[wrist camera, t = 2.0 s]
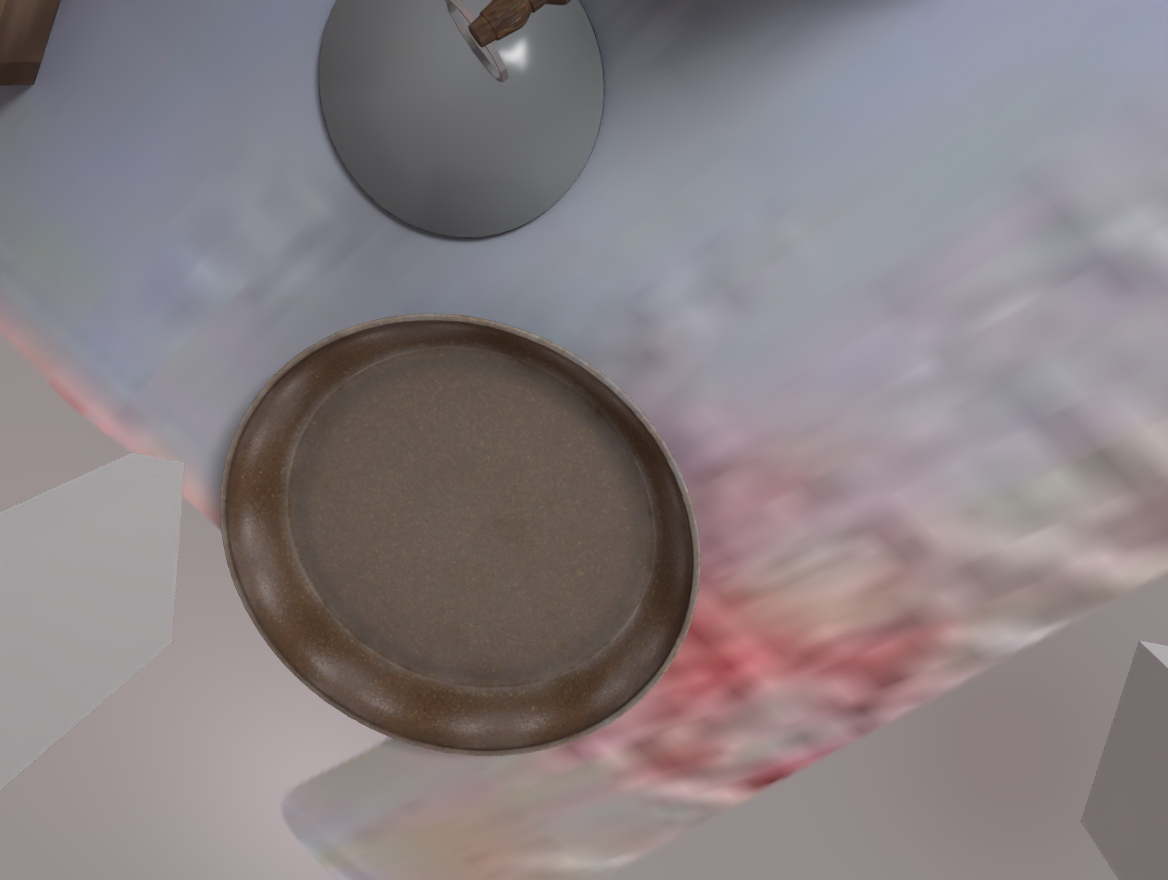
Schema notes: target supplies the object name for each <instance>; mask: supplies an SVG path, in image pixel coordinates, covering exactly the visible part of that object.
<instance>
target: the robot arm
mask: <svg viewBox="0 0 1168 880" xmlns="http://www.w3.org/2000/svg"><path fill="white" fill-rule="evenodd" d="M183 476H184V462H179V461H173V460H168V459H162V458H157V457H152V456H146V455H141V454H136V453H130V454H128V455H126V456H124V457H121V458H119V459H117V460H114V461H112V462H110V463H108V464H106V465H103V466H101V467H99V468H97V469H94V470H92V471H90V472H88V473H86V474H83V475H81V476H79V477H77V478H74V479H72V480H70V481H68V482H66V483H63V484H61V485H59V486H57V487H54V488H52V489H50V490H48V491H45V492H44V493H41V494H39V495H37V496H34V497H32V498H30V499H28V500H25V501H24V502H21V503H19V504H16V505H14V506H12V507H10V508H8V509H5V510H3V511H1V512H0V790H1V789H2V788H4V787H5V786H6V785H7V784H8V783H9V782H10V781H12V780H13V779H14V778H15V777H16V776H17V775H19V774H20V773H21V772H22V771H23V770H24V769H25V768H27V767H28V766H29V765H30V764H31V763H33V762H34V761H35V760H36V759H37V758H38V757H39V756H41V755H42V754H43V753H44V752H45V751H47V750H48V749H49V748H50V747H51V746H52V745H54V744H55V743H56V742H57V741H58V740H59V739H60V738H61V737H63V736H64V735H65V734H66V733H68V732H69V731H70V730H71V729H72V728H73V727H75V726H76V725H77V724H78V723H79V722H80V721H82V720H83V719H84V718H85V717H86V716H87V715H88V714H90V713H91V712H92V711H93V710H94V709H95V708H97V707H98V706H99V705H100V704H101V703H102V702H104V701H105V700H106V699H107V698H108V697H109V696H111V695H112V694H113V693H114V692H115V691H116V690H118V689H119V688H120V687H121V686H122V685H123V684H124V683H126V682H127V681H128V680H129V679H130V678H132V677H133V676H134V675H135V674H136V673H137V672H138V671H140V670H141V669H142V668H143V667H144V666H145V665H147V664H148V663H149V662H150V661H151V660H153V659H154V658H155V657H156V656H157V655H158V654H160V653H161V652H162V651H163V650H164V649H165V648H167V647H168V646H169V645H170V644H171V643H172V637H173V622H174V608H175V593H176V578H177V563H178V549H179V535H180V519H181V506H182V491H183ZM1081 822H1082V824H1083V826H1084V827H1085V829H1086V830H1087V832H1088V833H1089V835H1090V836H1091V838H1092V840H1093V841H1094V842H1095V844H1096V846H1097V847H1098V849H1099V850H1100V852H1101V853H1102V855H1103V856H1104V858H1105V860H1106V861H1107V862H1108V864H1109V866H1110V867H1111V869H1112V870H1113V872H1114V873H1115V875H1116V876H1117V878H1118V879H1119V880H1168V646H1165V645H1159V644H1154V643H1149V642H1143V641H1139V642H1138V645H1137V648H1136V651H1135V655H1134V658H1133V661H1132V664H1131V667H1130V670H1129V673H1128V676H1127V679H1126V683H1125V686H1124V689H1123V692H1122V695H1121V698H1120V701H1119V705H1118V707H1117V710H1116V713H1115V717H1114V720H1113V723H1112V726H1111V729H1110V732H1109V735H1108V738H1107V741H1106V744H1105V748H1104V751H1103V754H1102V757H1101V760H1100V763H1099V766H1098V769H1097V772H1096V776H1095V779H1094V782H1093V785H1092V788H1091V791H1090V794H1089V797H1088V800H1087V803H1086V807H1085V810H1084V813H1083V816H1082V819H1081Z"/></svg>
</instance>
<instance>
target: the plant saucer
mask: <svg viewBox="0 0 1168 880" xmlns="http://www.w3.org/2000/svg"><path fill="white" fill-rule="evenodd" d="M220 518H221V532H222V538H223V544H224V550H225V555H226V559H227V563H228V566H229V569H230V573H231V576H232V579H233V582H234V584H235V587H236V590H237V592H238V594H239V596H240V598H241V600H242V602H243V604H244V607H245V609H246V611H247V612H248V614H249V616H250V617H251V619H252V621H253V623H254V625H255V626H256V628H257V630H258V631H259V633H260V634H261V636H262V637H263V638H264V640H265V641H266V642H267V644H268V645H269V647H270V648H271V649H272V651H273V652H274V653H275V654H276V655H277V657H278V658H279V659H280V660H281V661H282V663H283V664H284V665H285V666H286V667H287V668H288V669H289V670H290V671H291V672H292V673H293V674H294V675H295V676H296V677H297V678H298V679H299V680H300V681H301V682H302V683H304V684H305V685H306V686H307V687H308V688H309V689H310V690H312V691H313V692H314V693H316V694H317V695H318V696H319V697H321V698H322V699H323V700H324V701H325V702H327V703H328V704H330V705H332V706H333V707H335V708H336V709H338V710H339V711H341V712H343V713H344V714H346V715H347V716H348V717H350V718H352V719H354V720H356V721H358V722H359V723H361V724H363V725H365V726H367V727H369V728H371V729H373V730H376V731H378V732H380V733H382V734H384V735H387V736H389V737H392V738H395V739H397V740H400V741H403V742H406V743H409V744H412V745H416V746H421V747H424V748H427V749H432V750H436V751H442V752H447V753H455V754H462V755H475V756H503V755H512V754H524V753H530V752H535V751H540V750H545V749H550V748H553V747H556V746H559V745H562V744H565V743H569V742H572V741H575V740H577V739H580V738H582V737H584V736H587V735H589V734H591V733H593V732H595V731H597V730H599V729H601V728H603V727H604V726H606V725H608V724H610V723H611V722H613V721H615V720H616V719H617V718H619V717H620V716H622V715H623V714H625V713H626V712H627V711H628V710H630V709H631V708H632V707H633V706H635V705H636V704H637V703H638V702H639V701H640V700H641V699H642V698H643V697H644V696H645V695H646V694H647V693H648V692H649V691H650V690H651V689H652V688H653V687H654V686H655V685H656V684H657V682H658V681H659V680H660V679H661V678H662V676H663V675H664V673H665V672H666V671H667V669H668V668H669V666H670V665H671V663H672V662H673V660H674V658H675V656H676V654H677V653H678V651H679V649H680V647H681V645H682V643H683V641H684V639H685V637H686V634H687V632H688V629H689V627H690V624H691V621H692V617H693V614H694V610H695V606H696V602H697V597H698V591H699V584H700V563H701V562H700V543H699V535H698V528H697V523H696V518H695V513H694V509H693V506H692V502H691V499H690V496H689V493H688V490H687V487H686V485H685V482H684V480H683V478H682V475H681V473H680V470H679V468H678V466H677V464H676V462H675V460H674V458H673V456H672V455H671V453H670V451H669V449H668V447H667V446H666V444H665V443H664V441H663V440H662V438H661V437H660V435H659V434H658V432H657V430H656V429H655V428H654V426H653V425H652V424H651V422H650V421H649V420H648V418H647V417H646V416H645V415H644V413H643V412H642V411H641V410H640V409H639V408H638V406H637V405H636V404H635V403H634V402H633V401H632V400H631V399H630V398H629V397H628V396H627V395H626V394H625V393H624V392H623V391H622V390H621V389H620V388H619V387H618V386H617V385H616V384H614V383H613V382H612V381H611V380H610V379H609V378H607V377H606V376H605V375H604V374H602V373H601V372H600V371H598V370H597V369H596V368H594V367H593V366H591V365H590V364H588V363H587V362H585V361H584V360H582V359H581V358H580V357H578V356H576V355H575V354H573V353H571V352H570V351H568V350H566V349H564V348H562V347H560V346H558V345H556V344H554V343H552V342H550V341H548V340H546V339H544V338H542V337H539V336H537V335H534V334H532V333H529V332H527V331H524V330H522V329H519V328H516V327H512V326H509V325H506V324H502V323H499V322H495V321H491V320H486V319H480V318H475V317H469V316H463V315H452V314H410V315H402V316H394V317H387V318H383V319H378V320H374V321H370V322H366V323H362V324H359V325H356V326H353V327H351V328H348V329H344V330H341V331H339V332H337V333H335V334H333V335H331V336H329V337H327V338H325V339H323V340H321V341H319V342H317V343H316V344H314V345H312V346H311V347H309V348H308V349H306V350H304V351H303V352H301V353H300V354H299V355H297V356H296V357H295V358H293V359H292V360H291V361H290V362H289V363H287V364H286V365H285V366H284V367H283V368H282V369H281V370H280V371H279V372H278V373H277V374H276V375H275V376H273V377H272V378H271V379H270V380H269V381H268V383H267V384H266V385H265V386H264V388H263V389H262V390H261V391H260V392H259V394H258V395H257V396H256V398H255V399H254V401H253V402H252V404H251V405H250V407H249V408H248V410H247V412H246V413H245V415H244V417H243V419H242V421H241V423H240V424H239V426H238V428H237V430H236V433H235V435H234V438H233V440H232V443H231V445H230V448H229V452H228V455H227V458H226V461H225V468H224V473H223V478H222V486H221V495H220Z"/></svg>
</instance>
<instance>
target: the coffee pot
mask: <svg viewBox="0 0 1168 880" xmlns="http://www.w3.org/2000/svg"><path fill="white" fill-rule="evenodd" d="M570 1H571V0H492V1H491V2H490V3H489V4H488V5H487V6H486V7H485V8H484V9H483V10H482V11H481V12H480V15H479V16H478V17H477V18H475V17H474V15H473V14H472V13H471V12H470V10H469V9H468V8H467V7H466V6H465V5H464V4H463V3H462V2H461V1H460V0H445V2H446V5H447V8H448V12H449V13H450V15H451V17H452V19H453V21H454V23H455V24H456V26H457V28H458V30H459V32H460V33H461V35H462V36H463V38H464V39H465V41H466V42H467V44H468V46H469V47H470V49H471V50H472V52H473V53H474V54H475V56H476V57H477V58H478V59H479V61H480V62H481V63H482V65H483V66H484V67H485V68H486V70H487V71H488V72H489V73H490V74H491V75H492V76H493V77H494V78H495V79H496V80H497V81H498V82H505V81H506V80H507V79H509V77H508V72H507V68H506V66H505V64H504V62H503V60H502V58H501V57H500V55H499V53H498V51H497V49H496V48H495V46H494V44H493V43H492V42H493V41H495V40H497V41H498V40H500V39H502V38H504V37H506V36H508V35H510V34H512V33H513V32H515V31H517V30H519V29H521V28H522V27H523V26H524V25H525V24H526V22H527V20H528V18H529V16H530V15H531V13H534V12H536V11H537V10H539V9H540V8H541V7H543V6H544V5H545V4H550V5H566V4H568V3H569V2H570ZM455 7H456V8H457V9H458V10H459V11H460V12H461V13H462V15H463V16H464V17H465V18H466V20H467V21H468V22H469V23H470V25H469V26H468V29H469V31H470V33H471V35H472V37H473V38H474V40H475V41H476V42H477V44H478V45H479V46H480V47H484V46H485V47H486V48H487V50H488V51H489V53H490V55H491V57H492V58H493V60H494V62H495V64H496V66H497V68H498V69H499V71H498V70H497V69H496V68H495V67H494V66H493V65H492V64H491V63H490V61H489V60H488V59H487V58H486V56H485V55H484V54H483V52H482V51H481V50H480V49H479V47H478V46H477V44H476V43H475V41H474V40H473V38H472V37H471V35H470V33H469V32H468V30H467V29H466V27H465V25H464V23H463V22H462V20H461V18H460V16H459V14H458V12H457V10H456V8H455Z"/></svg>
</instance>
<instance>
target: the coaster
mask: <svg viewBox="0 0 1168 880" xmlns="http://www.w3.org/2000/svg"><path fill="white" fill-rule="evenodd" d="M460 1H461V2H462V3H463V4H464V5H465V6H466V7H467V8H468V9H469V10H470V12H471V13H472V14H473V15H474V17H475V18H477V17H478V16H479V15H480V12H481V11H482V10H483V9H484V8H485V7H486V6H487V5H488V4H489V3H490V2H491V1H492V0H460ZM455 8H456V7H455ZM456 10H457V12H458V14H459V16H460V18H461V20H462V22H463V23H464V25H465V27H466V29H467V30H468V32H469V33H470V31H469V29H468V26H469V25H470V23H469V22H468V21H467V20H466V18H465V17H464V16H463V15H462V13H461V12H460V11H459V10H458V9H457V8H456ZM470 35H471V33H470ZM471 37H472V35H471ZM472 38H473V37H472ZM473 40H474V38H473ZM474 41H475V40H474ZM475 43H476V44H477V42H476V41H475ZM492 43H493V44H494V46H495V48H496V49H497V51H498V53H499V55H500V57H501V58H502V60H503V62H504V64H505V66H506V68H507V72H508V77H509V79H507V80H506V81H505V82H498V81H497V80H496V79H495V78H494V77H493V76H492V75H491V74H490V73H489V72H488V71H487V70H486V68H485V67H484V66H483V65H482V63H481V62H480V61H479V59H478V58H477V57H476V56H475V54H474V53H473V52H472V50H471V49H470V47H469V46H468V44H467V42H466V41H465V39H464V38H463V36H462V35H461V33H460V32H459V30H458V28H457V26H456V24H455V23H454V21H453V19H452V17H451V15H450V13H449V12H448V8H447V5H446V2H445V0H337V1H336V3H335V5H334V7H333V9H332V11H331V14H330V17H329V19H328V22H327V25H326V28H325V32H324V36H323V41H322V45H321V52H320V62H319V89H320V96H321V103H322V109H323V113H324V117H325V121H326V125H327V128H328V131H329V133H330V136H331V138H332V141H333V144H334V146H335V148H336V150H337V152H338V154H339V156H340V157H341V159H342V161H343V163H344V165H345V166H346V167H347V169H348V170H349V172H350V173H351V175H352V176H353V178H354V179H355V180H356V181H357V183H358V184H359V185H360V186H361V187H362V188H363V190H364V191H365V192H366V193H367V194H368V195H369V196H370V197H371V198H373V199H374V200H375V201H376V202H377V203H378V204H379V205H380V206H382V207H383V208H384V209H386V210H387V211H389V212H390V213H391V214H393V215H394V216H396V217H398V218H399V219H401V220H403V221H405V222H407V223H409V224H411V225H413V226H415V227H418V228H421V229H423V230H426V231H429V232H433V233H437V234H441V235H445V236H454V237H483V236H489V235H495V234H500V233H503V232H506V231H509V230H512V229H515V228H517V227H519V226H522V225H524V224H526V223H528V222H530V221H532V220H533V219H535V218H536V217H538V216H539V215H541V214H542V213H544V212H545V211H547V210H548V209H549V208H550V207H552V206H553V205H554V204H555V203H556V202H557V201H558V200H560V199H561V198H562V197H563V196H564V194H565V193H566V192H567V191H568V190H569V189H570V187H571V186H572V185H573V184H574V183H575V181H576V180H577V178H578V177H579V175H580V174H581V172H582V171H583V169H584V167H585V165H586V163H587V161H588V159H589V157H590V155H591V153H592V151H593V148H594V145H595V142H596V139H597V136H598V133H599V129H600V124H601V119H602V114H603V105H604V71H603V65H602V59H601V54H600V49H599V46H598V42H597V39H596V36H595V32H594V30H593V27H592V25H591V23H590V20H589V18H588V16H587V14H586V11H585V10H584V8H583V6H582V5H581V3H580V1H579V0H571V1H570V2H569V3H568V4H566V5H550V4H545V5H544V6H543V7H541V8H540V9H539V10H537V11H536V12H534V13H531V15H530V16H529V18H528V20H527V22H526V24H525V25H524V26H523V27H522V28H521V29H519V30H517V31H515V32H513V33H512V34H510V35H508V36H506V37H504V38H502V39H500V40H498V41H497V40H495V41H493V42H492ZM477 46H478V47H479V49H480V50H481V51H482V52H483V54H484V55H485V56H486V58H487V59H488V60H489V61H490V63H491V64H492V65H493V66H494V67H495V68H496V69H497V70H498V71H499V69H498V68H497V66H496V64H495V62H494V60H493V58H492V57H491V55H490V53H489V51H488V50H487V48H486V47H485V46H484V47H480V46H479V45H478V44H477Z"/></svg>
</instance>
